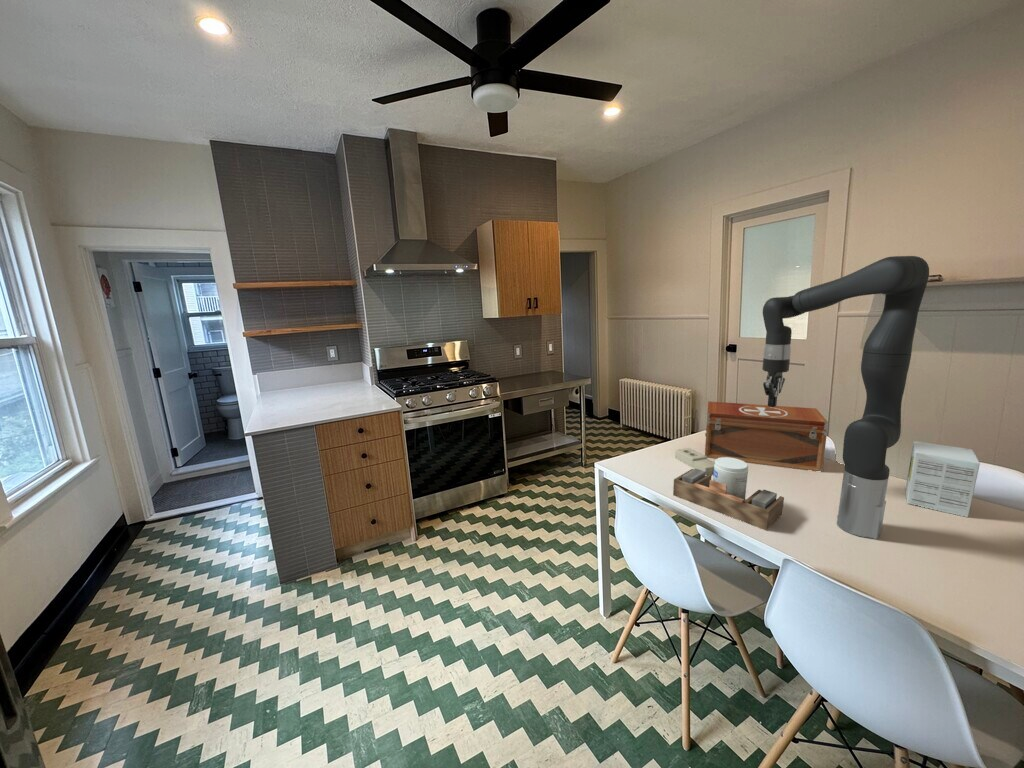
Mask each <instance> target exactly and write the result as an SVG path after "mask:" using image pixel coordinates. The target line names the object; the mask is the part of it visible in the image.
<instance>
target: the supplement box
mask: <svg viewBox="0 0 1024 768" xmlns="http://www.w3.org/2000/svg"><path fill="white" fill-rule="evenodd" d="M911 447H912V448H911V455H910V461H909V466H908V471H907V472H908V473H907V477H906V485H905V499H906V498H907V500H906V504H907V503H910V504H914V505H913V506H915V505H918V506H917V507H919V506H921V508H924V507H925V508H924V509H928V508H930V509H929V510H932V509H934V510H933V511H937V510H938V511H937V512H941V511H942V512H941V513H946V514H950V513H951V515H955V514H956V516H959V515H961V516H960V517H963V516H965V517H964V518H969V514H970V511H971V505H972V500H973V496H974V491H975V488H976V484H977V480H978V479H977V478H978V474H979V469H980V465H981V463H980V461H979V458H978V457H977V455H976V453H975V451H974V450H973V449H971V448H965V447H959V446H958V447H957V446H952V445H945V444H944V445H943V444H938V443H930V442H924V441H916V440H913V442H912V446H911ZM910 504H909V505H910Z"/></svg>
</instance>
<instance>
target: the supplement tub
mask: <svg viewBox="0 0 1024 768" xmlns="http://www.w3.org/2000/svg"><path fill="white" fill-rule="evenodd" d="M714 462H715V465H714V473H713V478H712V480H713V481H716V482H719V483H722V484H725V485H727V491H726V493H727V494H730V495H733V496H736V497H739V498H742V499H744V501H745V500H746V493H747V492H746V491H747V485H748V476H749V475H748V473H749V465H748V463H746V462H744V461H742V460H739V459H736V458H730V457H721V458H718V459H715V460H714Z"/></svg>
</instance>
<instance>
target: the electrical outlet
mask: <svg viewBox="0 0 1024 768" xmlns="http://www.w3.org/2000/svg"><path fill="white" fill-rule="evenodd" d="M674 451H675V452H674V458H675V460H677V461H679V462H680V463H681V462H682V463H683V464H685V465H687V466H689V467H690V468H691V469H695V468H696V469H699V470H702V471H705V476H706V475H708V474H710V475H714V465H715V461H713V460H711V459H710V458H707V457H706V456H705V454H703V453H700V452H698V451H696V450H695V449H692V448H691V447H685V448H679V449H675V450H674Z"/></svg>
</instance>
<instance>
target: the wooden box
mask: <svg viewBox="0 0 1024 768" xmlns="http://www.w3.org/2000/svg"><path fill="white" fill-rule="evenodd" d="M828 426H829V421H828V420H827V419H826V418H825V417H824V415H823V414H822V413H821V412H820V411H819V410H818V409H817V408H815V407H799V406H787V405H786V406H784V405H776V406H775V407H769V406H768V404H754V403H753V404H752V403H737V402H736V403H735V402H725V401H724V402H722V401H708V402H707V415H706V428H705V431H706V432H705V435H704V436H705V445H704V447H705V449H704V455H705V456H706V457H707V459H713V460H716V459H718V458H721V457H730V458H736V459H739V460H742V461H744V462H746V463H747V464H755V465H760V466H762V465H763V466H770V467H778V468H785V469H793V470H801V471H808V470H812V471H811V472H816V471H821V472H820V473H823V468H824V460H825V451H826V444H827V443H826V442H827V435H828V428H829V427H828Z"/></svg>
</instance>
